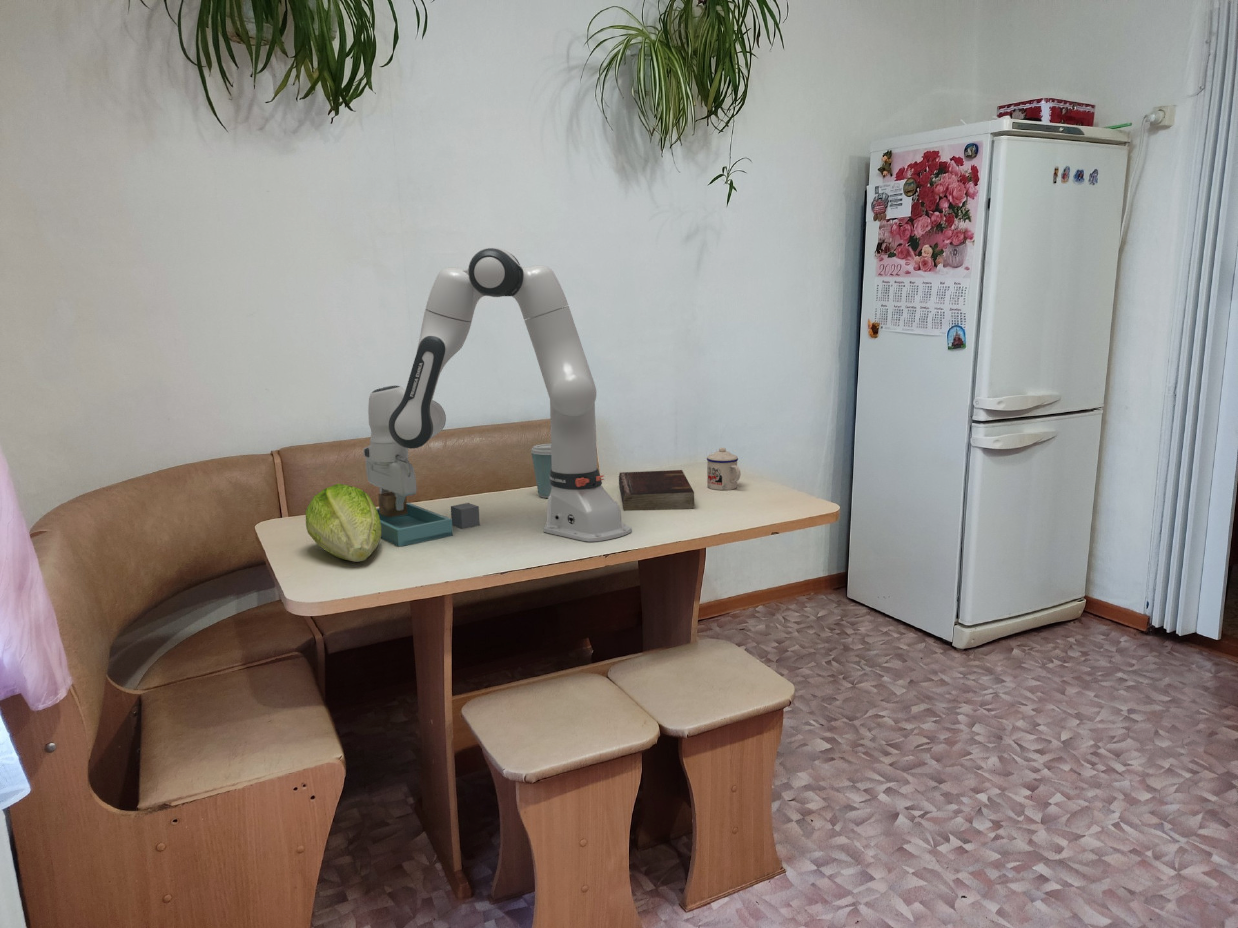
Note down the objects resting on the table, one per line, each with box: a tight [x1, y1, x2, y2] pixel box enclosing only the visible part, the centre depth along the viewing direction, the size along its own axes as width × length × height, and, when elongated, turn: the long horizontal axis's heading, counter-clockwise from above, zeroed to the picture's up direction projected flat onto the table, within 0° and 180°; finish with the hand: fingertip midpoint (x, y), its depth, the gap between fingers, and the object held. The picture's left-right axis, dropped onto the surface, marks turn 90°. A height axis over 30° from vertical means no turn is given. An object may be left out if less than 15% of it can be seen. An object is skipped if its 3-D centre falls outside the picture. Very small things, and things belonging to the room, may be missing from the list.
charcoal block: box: [450, 502, 481, 530], centre depth 216 cm, size 5×5×5 cm
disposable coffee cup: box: [530, 442, 552, 499], centre depth 245 cm, size 11×11×15 cm
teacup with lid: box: [706, 447, 741, 491], centre depth 252 cm, size 12×9×12 cm
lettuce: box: [305, 483, 381, 563], centre depth 194 cm, size 15×24×16 cm
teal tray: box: [376, 502, 454, 548], centre depth 211 cm, size 22×14×4 cm, turn 40°
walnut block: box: [377, 491, 408, 518], centre depth 215 cm, size 5×5×5 cm
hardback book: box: [618, 469, 695, 512], centre depth 243 cm, size 29×19×5 cm, turn 2°
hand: (393, 507), depth 215 cm, fingers closed on walnut block, 5 cm apart
